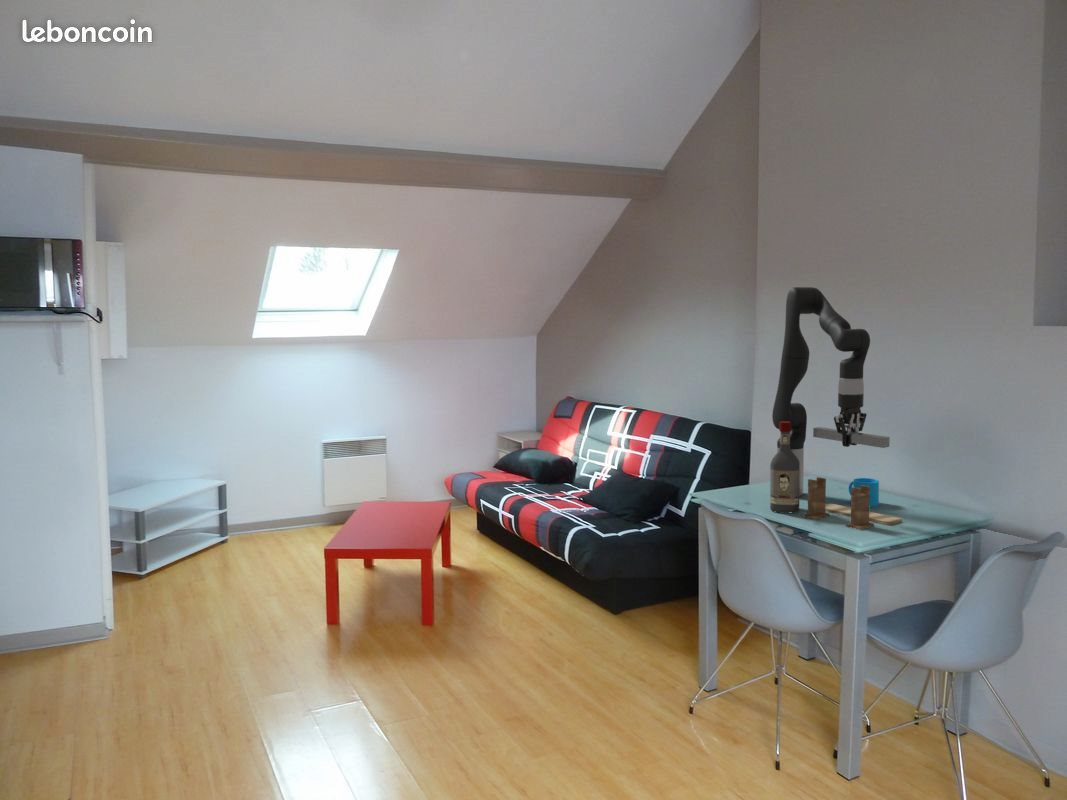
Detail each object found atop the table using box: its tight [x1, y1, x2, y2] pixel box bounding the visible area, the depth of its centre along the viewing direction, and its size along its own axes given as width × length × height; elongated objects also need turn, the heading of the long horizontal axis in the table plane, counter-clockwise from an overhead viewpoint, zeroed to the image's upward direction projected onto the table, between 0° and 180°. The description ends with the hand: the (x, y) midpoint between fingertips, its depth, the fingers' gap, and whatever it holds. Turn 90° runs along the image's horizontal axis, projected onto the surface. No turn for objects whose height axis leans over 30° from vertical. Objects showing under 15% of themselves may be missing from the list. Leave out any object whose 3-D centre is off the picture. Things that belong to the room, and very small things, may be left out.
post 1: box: [803, 476, 831, 520], centre depth 269 cm, size 5×7×12 cm
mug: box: [848, 477, 880, 507], centre depth 286 cm, size 12×8×8 cm
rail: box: [812, 426, 891, 449], centre depth 264 cm, size 26×3×3 cm, turn 33°
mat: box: [825, 503, 903, 526], centre depth 269 cm, size 26×7×1 cm, turn 34°
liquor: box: [769, 421, 800, 513], centre depth 277 cm, size 9×9×30 cm
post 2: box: [845, 485, 875, 531], centre depth 256 cm, size 5×7×12 cm
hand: (849, 445), depth 264 cm, fingers closed on rail, 3 cm apart
